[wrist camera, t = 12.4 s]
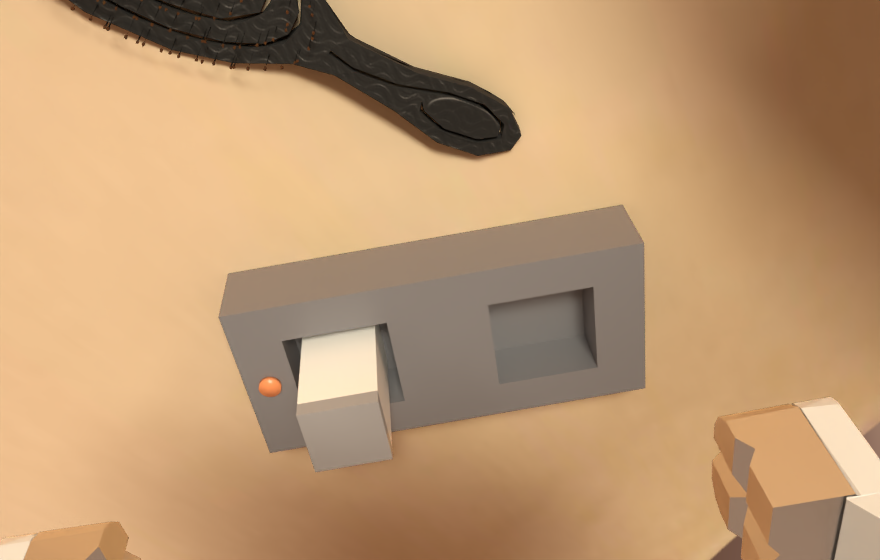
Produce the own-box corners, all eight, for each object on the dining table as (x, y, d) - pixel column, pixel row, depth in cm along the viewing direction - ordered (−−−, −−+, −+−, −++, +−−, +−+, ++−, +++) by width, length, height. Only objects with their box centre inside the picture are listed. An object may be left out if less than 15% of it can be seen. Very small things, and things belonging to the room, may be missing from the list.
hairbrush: (479, 224, 42) (-46, -22, 32) (468, 189, 45) (-16, -46, 35) (574, 90, 39) (17, -234, 29) (555, 61, 42) (44, -241, 32)
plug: (373, 304, 46) (377, 401, 40) (387, 358, 49) (392, 458, 42) (303, 316, 46) (296, 415, 40) (320, 370, 49) (315, 472, 42)
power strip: (622, 204, 45) (645, 245, 42) (626, 345, 51) (646, 391, 47) (228, 273, 45) (217, 320, 42) (275, 405, 51) (269, 456, 48)
